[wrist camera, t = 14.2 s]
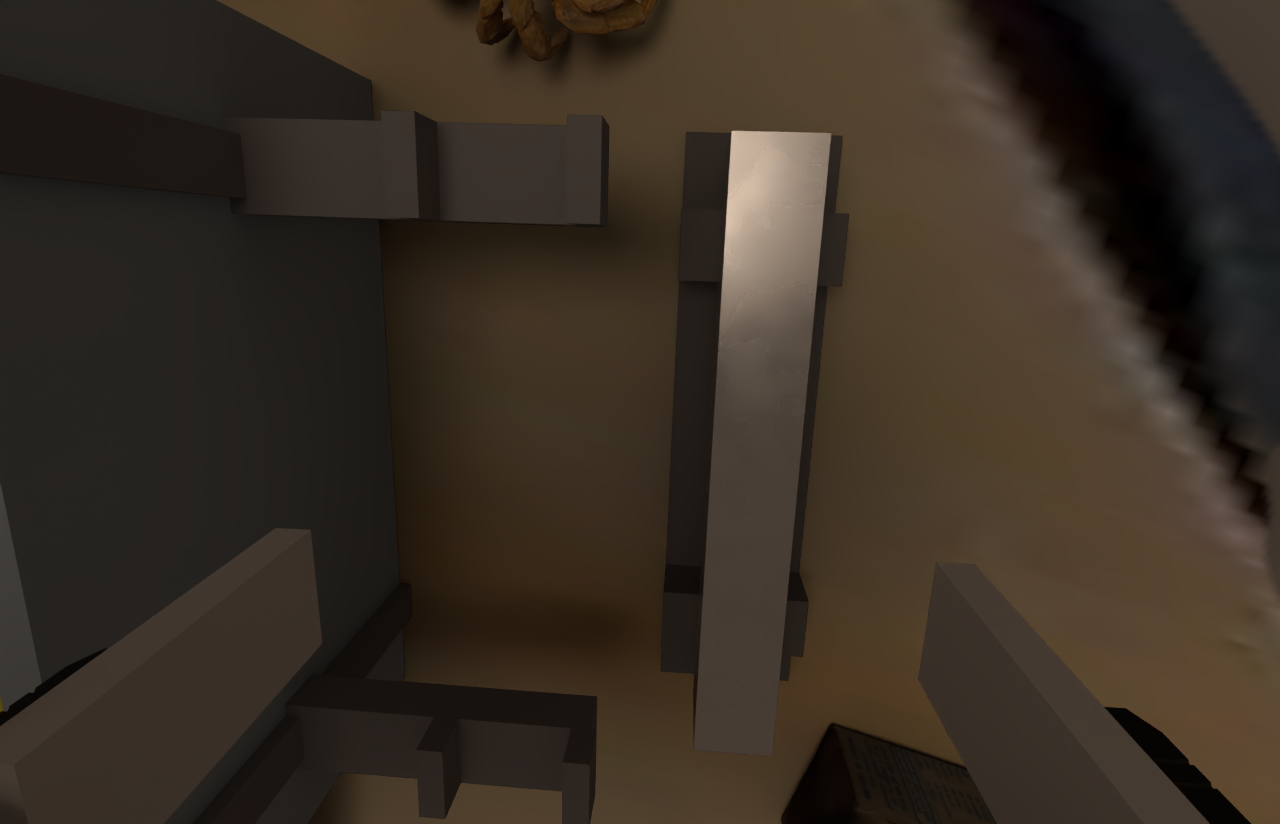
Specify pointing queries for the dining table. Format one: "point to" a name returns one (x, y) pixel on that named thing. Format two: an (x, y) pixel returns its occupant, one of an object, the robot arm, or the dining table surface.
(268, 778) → the panel
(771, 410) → the rail
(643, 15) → the crab model
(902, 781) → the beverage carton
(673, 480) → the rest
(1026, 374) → the dining table surface
